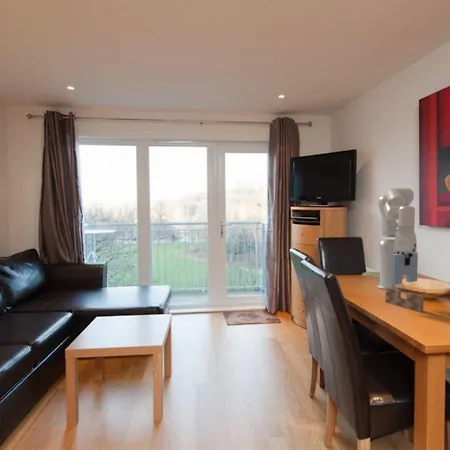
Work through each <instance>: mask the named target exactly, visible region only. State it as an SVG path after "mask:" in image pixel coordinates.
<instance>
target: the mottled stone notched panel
mask: <svg viewBox="0 0 450 450" xmlns="http://www.w3.org/2000/svg"><path fill="white" fill-rule="evenodd" d="M424 298H425V296H424V295H421V294H417V293H413V292H406V298H404V297H402V289H393V288H389V287H388V288H386V289H385V298H384V299H385V301H384V302H385V303H387V304H390V305H394V306H397V307H398V306H399V307H401V308H404V309H408V310H411V311H415V312H418V313H423V312H424V303H425V299H424Z"/></svg>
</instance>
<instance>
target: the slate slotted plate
mask: <svg viewBox="0 0 450 450" xmlns="http://www.w3.org/2000/svg"><path fill="white" fill-rule="evenodd" d="M405 258H406V254H393V255H392V265H391V284H396V285H400V284H403V275H406V279H405V282H408V283H415V282H418V261H419V260H418V259H419V253H418V252H417V254H416V255H413V256H412V257H411V258H410V265H408V266H405Z"/></svg>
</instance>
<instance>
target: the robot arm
mask: <svg viewBox="0 0 450 450" xmlns="http://www.w3.org/2000/svg"><path fill="white" fill-rule="evenodd" d="M414 194H415V193H414V191H413V189H411V188H409V187H408V188H407V187H404V188H403V187H401V188H400V187H395V188H390V189H389V190H388V191H387V192H386V195H381V196H379V198H378V201H377V204H378V209H379V211H380V214H381V215H380V216H381V235H382V236H383V237H385V238H394V239H385V238H384V239H382V240H380V242H379V243H378V246H379V247H378V248H379V258H380V259H379V260H380V262H379V272H380V281H379V283H377V285H376V288H378V289H380V290H386V288H388V287H389V288H393V289H397V290H399V286H398V285H397V284H391V265H392V255H395V254H406V258H405V266H408V265H410V258H411V257H412V256H413V255H416V254H417V253H418V252H417V247H418V245H417V244H418V243H417V242H418V241H417V234H416V232H415V223H416V221H415V220H416V219H415V217H416V216H415V215H416V208H415V207H414V206H411V204H412V202H413V201H414V199H415V198H414V197H415V195H414ZM397 221H398V222H397Z"/></svg>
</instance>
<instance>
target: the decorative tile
mask: <svg viewBox="0 0 450 450" xmlns="http://www.w3.org/2000/svg"><path fill="white" fill-rule="evenodd" d="M361 276H362V277H364V276H367V277H371V278H375V279H378V280H377V281H379V280H380V271H365V272H362V275H361ZM367 277H366V278H367ZM371 278H370V279H371ZM375 279H374V280H375Z"/></svg>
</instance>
